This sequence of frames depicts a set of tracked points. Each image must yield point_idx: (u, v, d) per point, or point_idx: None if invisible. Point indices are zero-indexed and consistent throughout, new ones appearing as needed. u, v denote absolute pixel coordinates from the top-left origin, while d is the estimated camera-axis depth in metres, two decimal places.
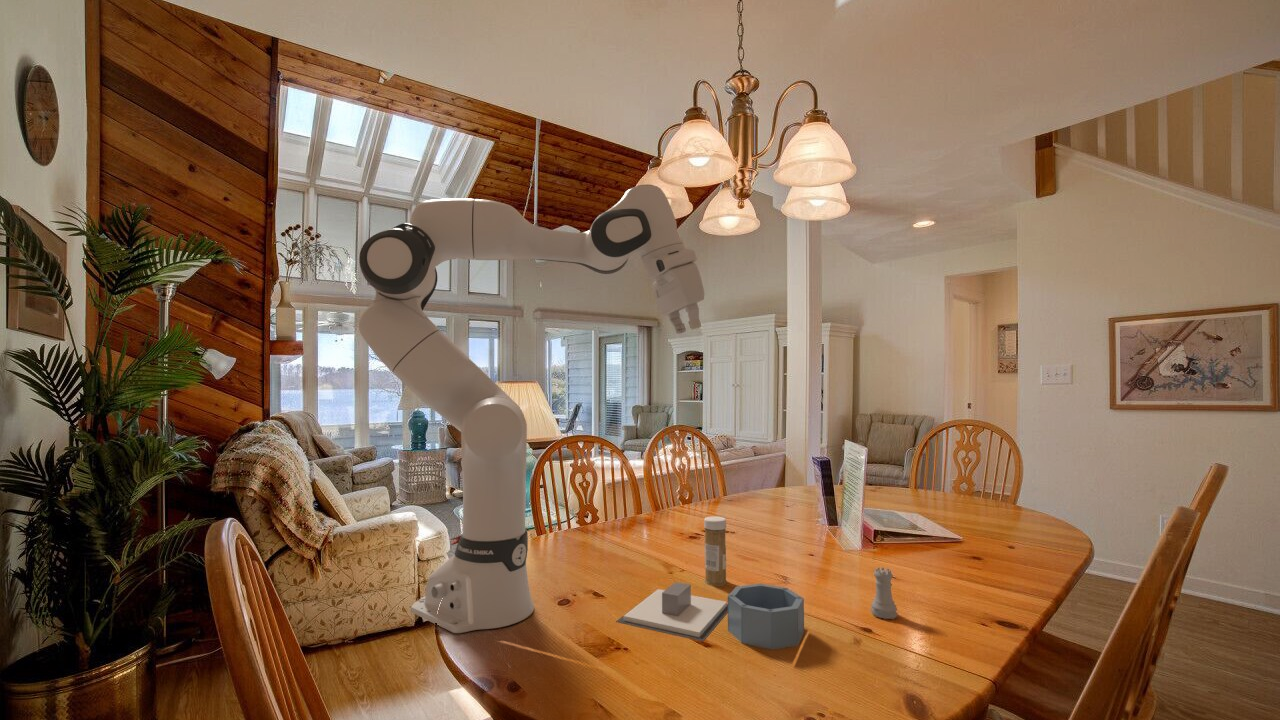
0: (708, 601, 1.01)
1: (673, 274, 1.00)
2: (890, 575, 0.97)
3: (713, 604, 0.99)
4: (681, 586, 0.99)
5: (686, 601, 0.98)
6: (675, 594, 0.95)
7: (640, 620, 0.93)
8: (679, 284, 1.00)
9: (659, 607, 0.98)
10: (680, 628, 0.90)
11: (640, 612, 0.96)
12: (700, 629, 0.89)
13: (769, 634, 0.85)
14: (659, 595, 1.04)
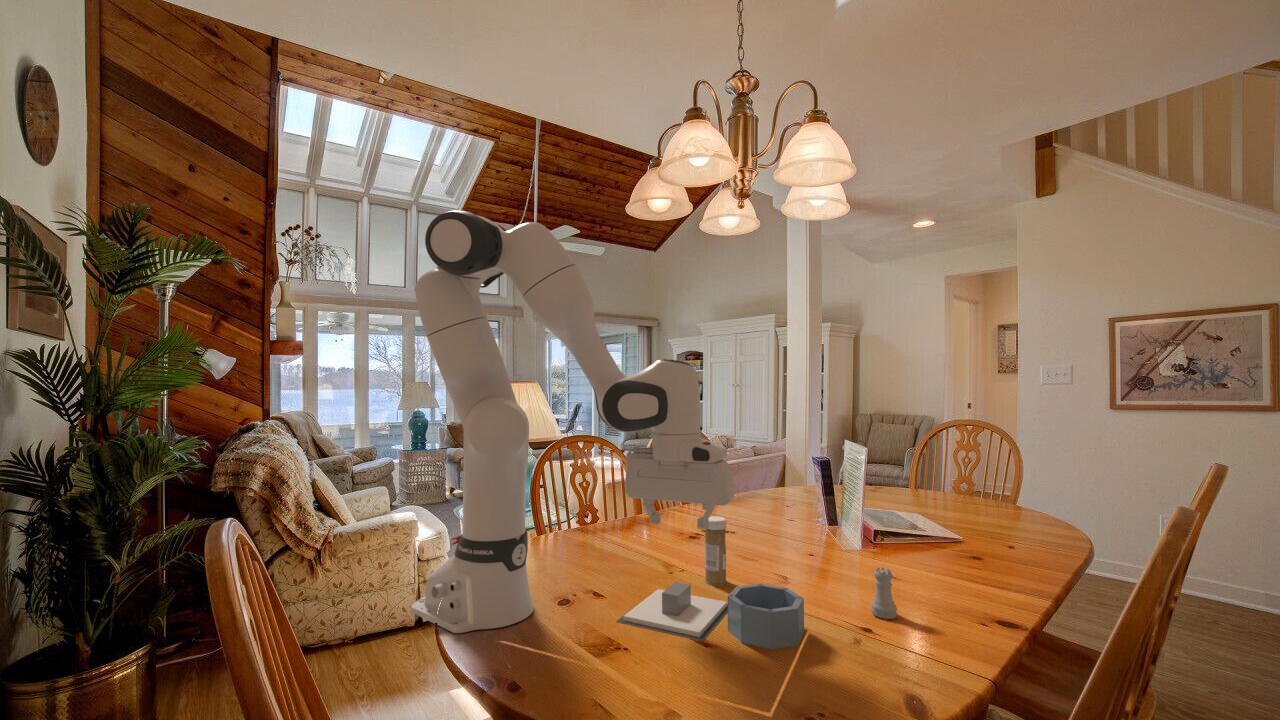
0: (708, 601, 1.01)
1: (719, 470, 0.93)
2: (890, 575, 0.97)
3: (713, 604, 0.99)
4: (681, 586, 0.99)
5: (686, 601, 0.98)
6: (675, 594, 0.95)
7: (640, 620, 0.93)
8: (723, 483, 0.93)
9: (659, 607, 0.98)
10: (680, 628, 0.90)
11: (640, 612, 0.96)
12: (700, 629, 0.89)
13: (769, 634, 0.85)
14: (659, 595, 1.04)
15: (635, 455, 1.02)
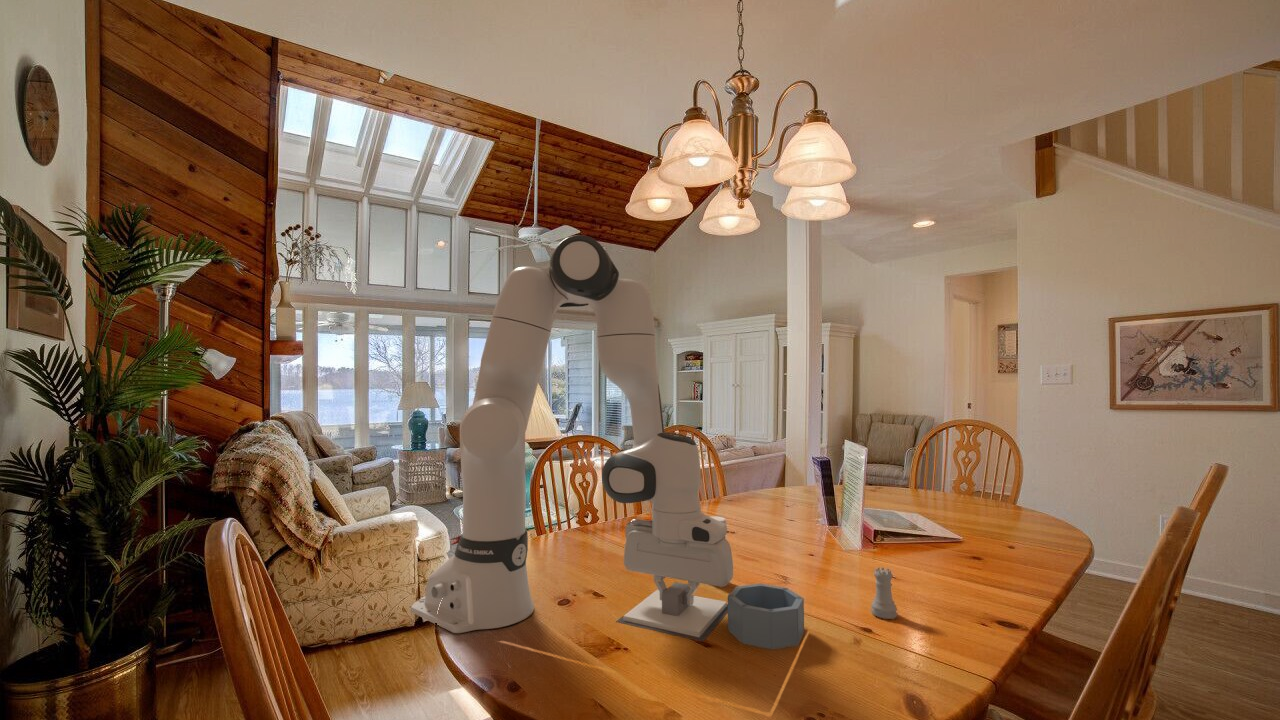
0: (708, 601, 1.01)
1: (718, 551, 0.92)
2: (890, 575, 0.97)
3: (712, 604, 0.99)
4: (681, 586, 0.99)
5: None
6: (675, 594, 0.95)
7: (640, 620, 0.93)
8: (723, 564, 0.92)
9: (659, 607, 0.98)
10: (680, 628, 0.90)
11: (640, 612, 0.96)
12: (700, 629, 0.90)
13: (769, 634, 0.85)
14: (658, 595, 1.04)
15: (634, 527, 1.02)
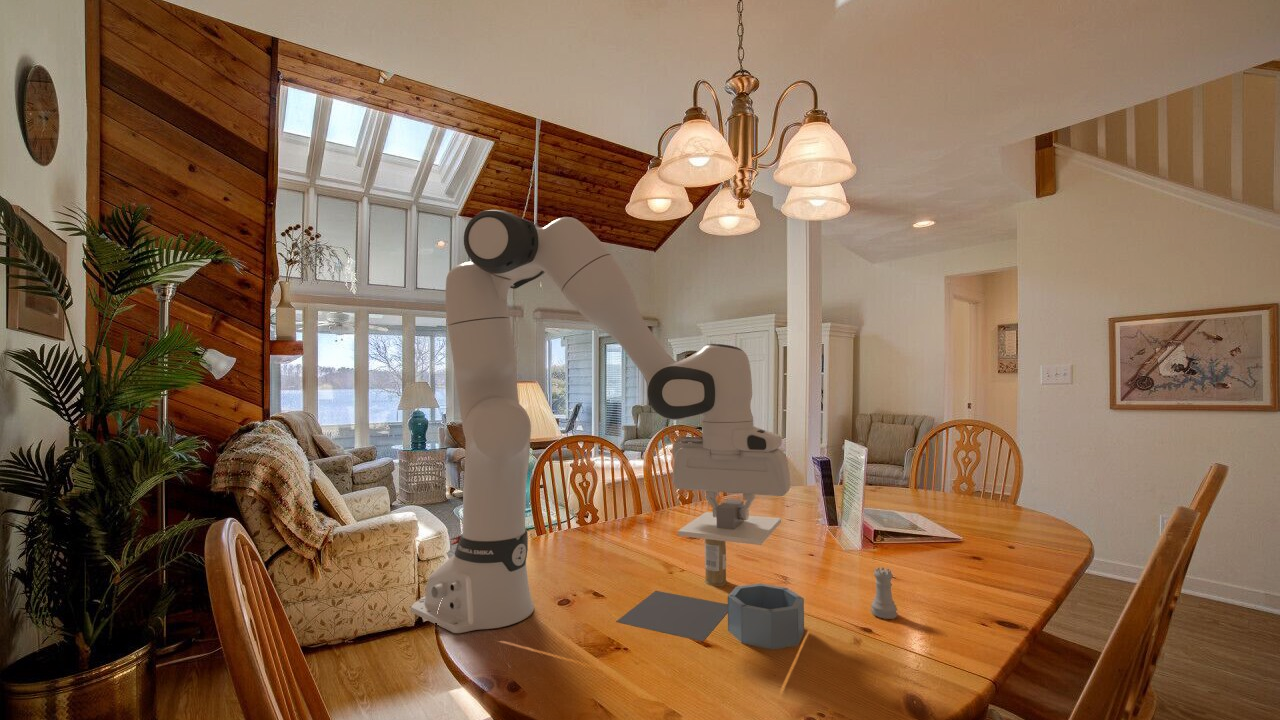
0: (762, 518, 0.97)
1: (776, 459, 0.88)
2: (890, 575, 0.97)
3: (767, 520, 0.96)
4: (734, 502, 0.95)
5: None
6: (730, 507, 0.92)
7: (696, 533, 0.90)
8: (781, 472, 0.88)
9: (712, 524, 0.95)
10: (739, 538, 0.86)
11: (694, 528, 0.93)
12: (761, 537, 0.86)
13: (769, 634, 0.85)
14: (709, 516, 1.00)
15: (683, 445, 0.98)
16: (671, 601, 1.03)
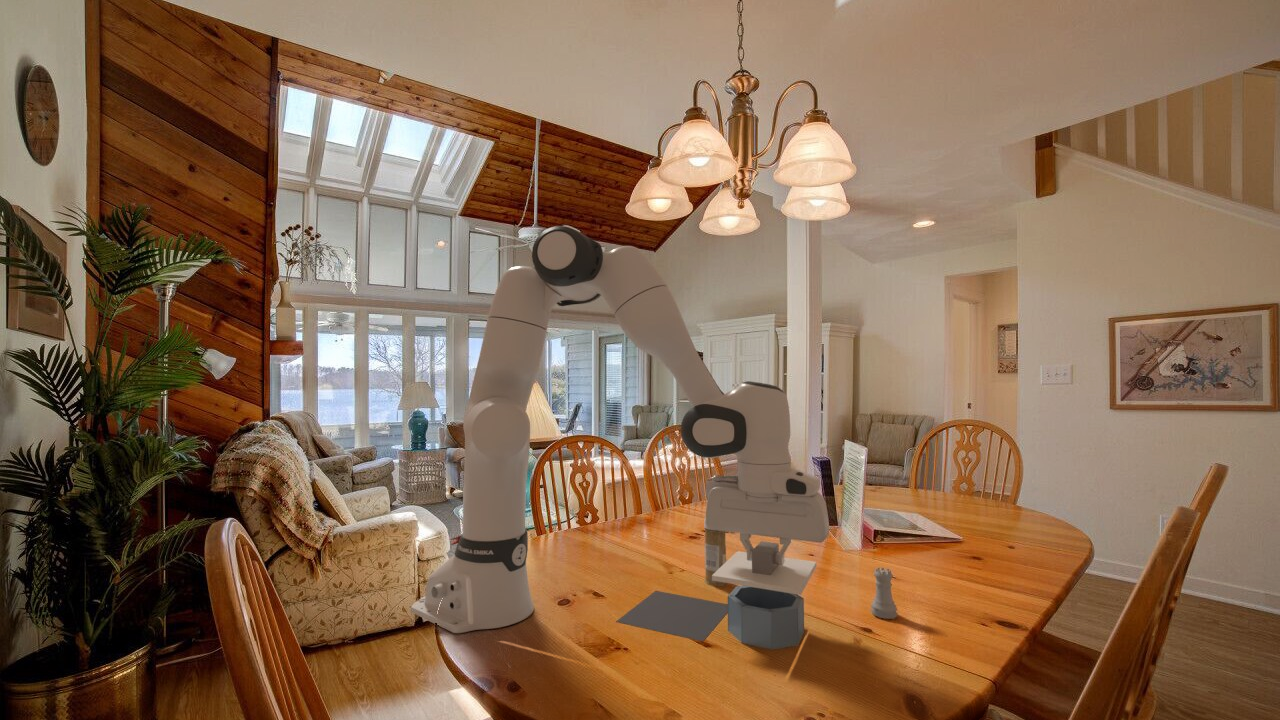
0: (797, 561, 0.94)
1: (816, 504, 0.86)
2: (890, 575, 0.97)
3: (803, 564, 0.93)
4: (769, 545, 0.92)
5: None
6: (766, 551, 0.89)
7: (731, 579, 0.87)
8: (821, 518, 0.85)
9: (746, 567, 0.92)
10: (778, 586, 0.83)
11: (728, 572, 0.90)
12: (800, 586, 0.83)
13: (769, 634, 0.85)
14: (741, 557, 0.97)
15: (716, 484, 0.95)
16: (671, 601, 1.03)
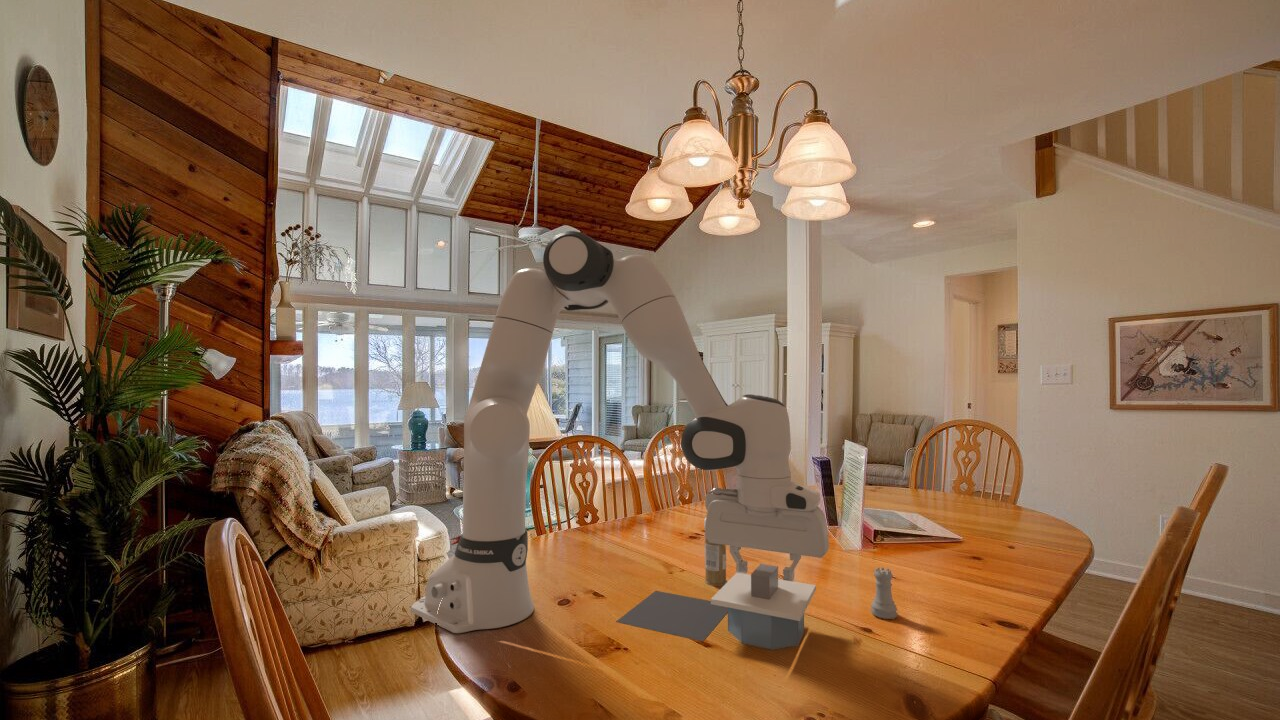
0: (796, 584, 0.94)
1: (816, 519, 0.85)
2: (890, 575, 0.97)
3: (802, 588, 0.93)
4: (768, 568, 0.92)
5: (775, 584, 0.91)
6: (766, 575, 0.89)
7: (730, 603, 0.86)
8: (821, 533, 0.85)
9: (746, 590, 0.91)
10: (777, 611, 0.83)
11: (727, 595, 0.89)
12: (799, 612, 0.83)
13: (769, 634, 0.85)
14: (740, 579, 0.97)
15: (716, 497, 0.95)
16: (671, 601, 1.03)
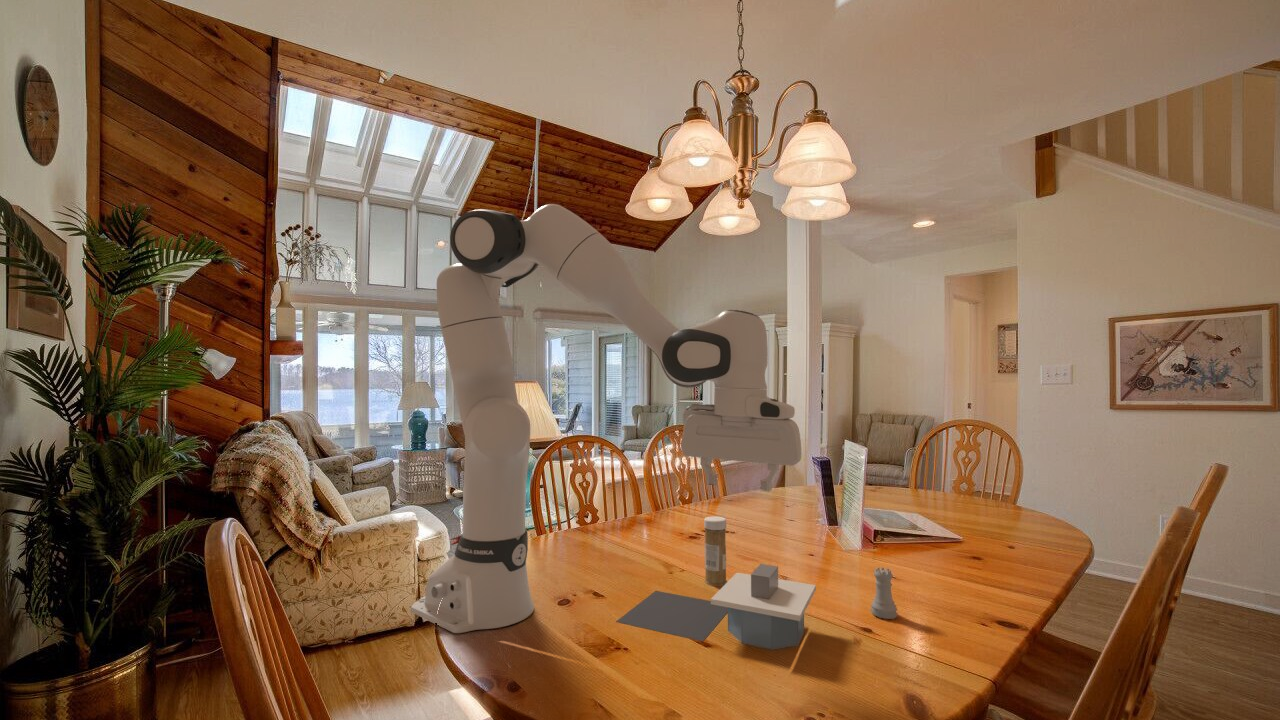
0: (796, 584, 0.94)
1: (789, 427, 0.87)
2: (890, 575, 0.97)
3: (802, 588, 0.93)
4: (768, 568, 0.92)
5: (775, 584, 0.91)
6: (766, 575, 0.89)
7: (730, 603, 0.86)
8: (793, 441, 0.87)
9: (746, 590, 0.91)
10: (777, 611, 0.83)
11: (727, 595, 0.89)
12: (799, 612, 0.83)
13: (769, 634, 0.85)
14: (740, 579, 0.97)
15: (693, 412, 0.97)
16: (671, 601, 1.03)
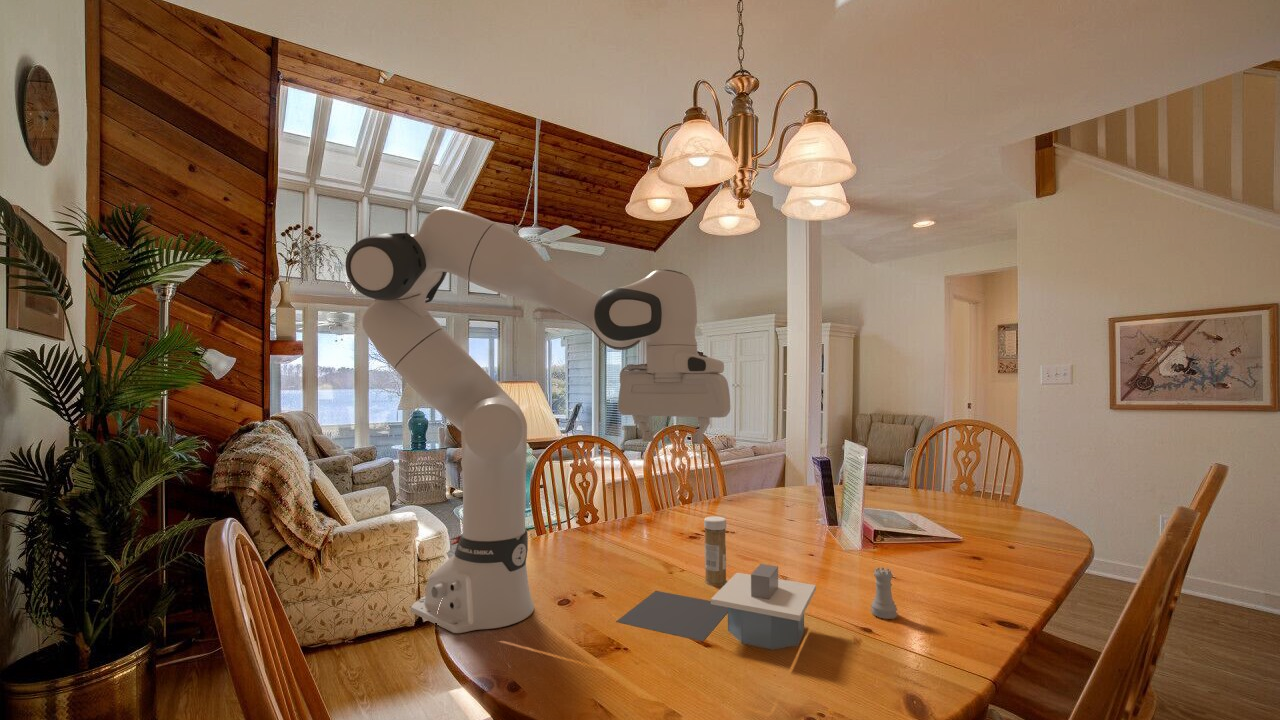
0: (796, 584, 0.94)
1: (715, 380, 0.90)
2: (890, 575, 0.97)
3: (802, 588, 0.93)
4: (768, 568, 0.92)
5: (775, 584, 0.91)
6: (766, 575, 0.89)
7: (730, 603, 0.86)
8: (719, 393, 0.89)
9: (746, 590, 0.91)
10: (777, 611, 0.83)
11: (727, 595, 0.89)
12: (799, 612, 0.83)
13: (769, 634, 0.85)
14: (740, 579, 0.97)
15: (629, 372, 0.99)
16: (671, 601, 1.03)
